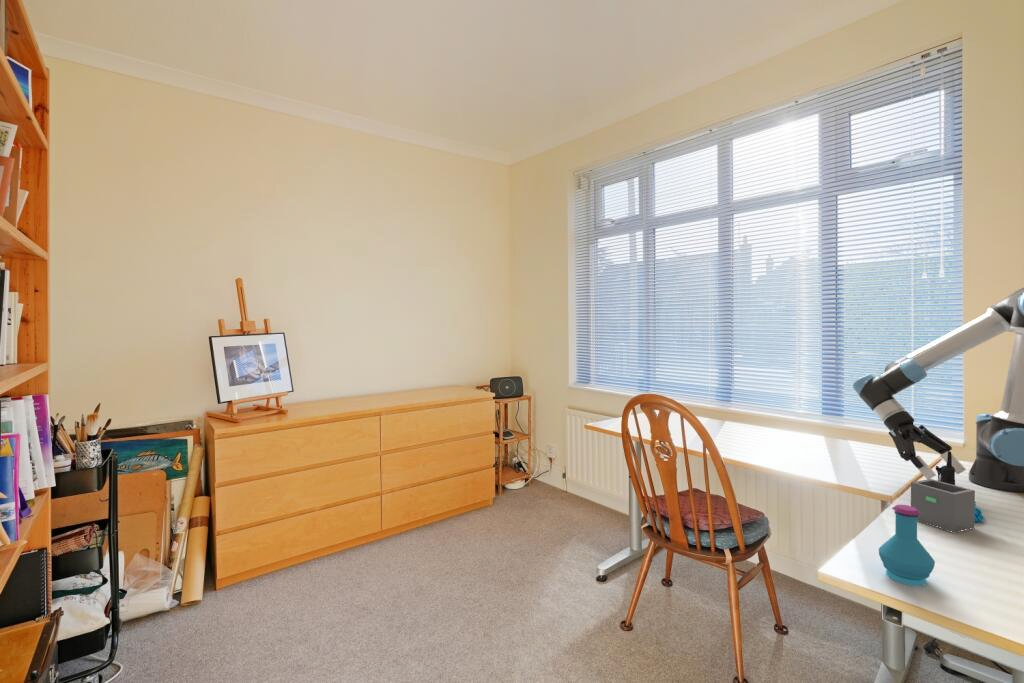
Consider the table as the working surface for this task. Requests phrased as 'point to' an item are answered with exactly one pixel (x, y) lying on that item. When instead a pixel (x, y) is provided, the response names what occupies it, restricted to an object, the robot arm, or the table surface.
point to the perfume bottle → (906, 550)
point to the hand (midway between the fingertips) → (947, 474)
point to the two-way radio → (947, 471)
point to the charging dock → (944, 504)
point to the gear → (978, 515)
